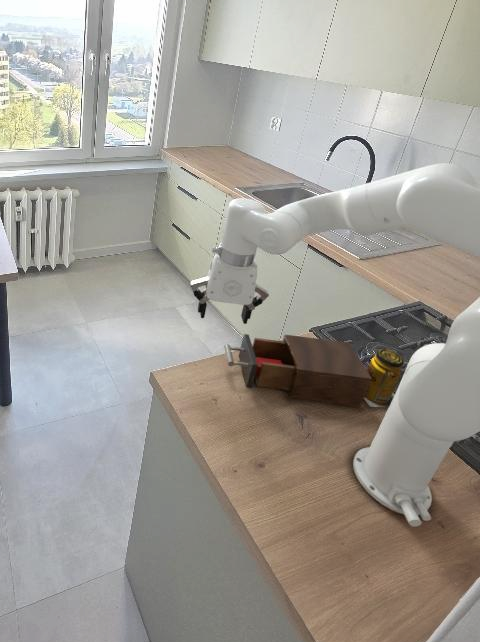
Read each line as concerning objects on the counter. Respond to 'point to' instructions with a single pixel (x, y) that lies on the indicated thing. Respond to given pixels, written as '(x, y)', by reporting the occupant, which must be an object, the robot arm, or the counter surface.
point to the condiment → (383, 378)
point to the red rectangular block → (260, 360)
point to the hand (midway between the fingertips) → (222, 317)
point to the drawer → (269, 372)
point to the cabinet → (327, 372)
